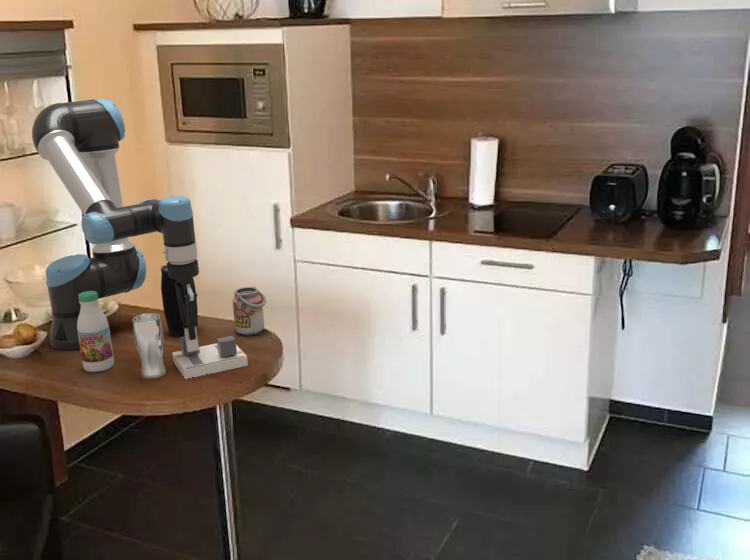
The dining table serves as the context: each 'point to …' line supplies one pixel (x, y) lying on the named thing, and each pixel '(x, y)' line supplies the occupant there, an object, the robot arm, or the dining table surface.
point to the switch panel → (207, 361)
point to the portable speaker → (171, 304)
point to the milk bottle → (94, 334)
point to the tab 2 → (226, 346)
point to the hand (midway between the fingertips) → (192, 350)
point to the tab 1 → (184, 348)
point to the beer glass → (149, 344)
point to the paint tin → (248, 310)
